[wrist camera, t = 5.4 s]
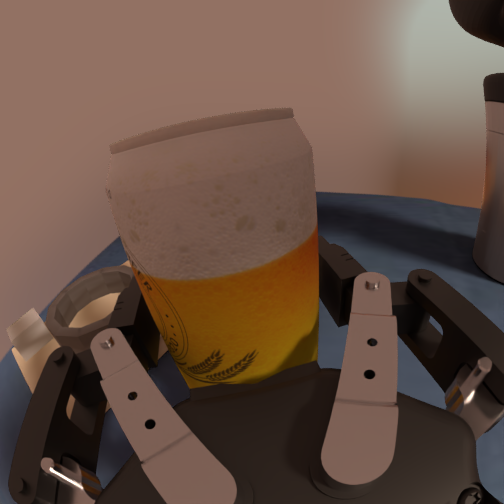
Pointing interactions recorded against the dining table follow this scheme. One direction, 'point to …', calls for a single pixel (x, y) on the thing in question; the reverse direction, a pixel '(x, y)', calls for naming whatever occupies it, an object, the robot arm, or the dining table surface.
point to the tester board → (70, 322)
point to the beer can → (223, 241)
